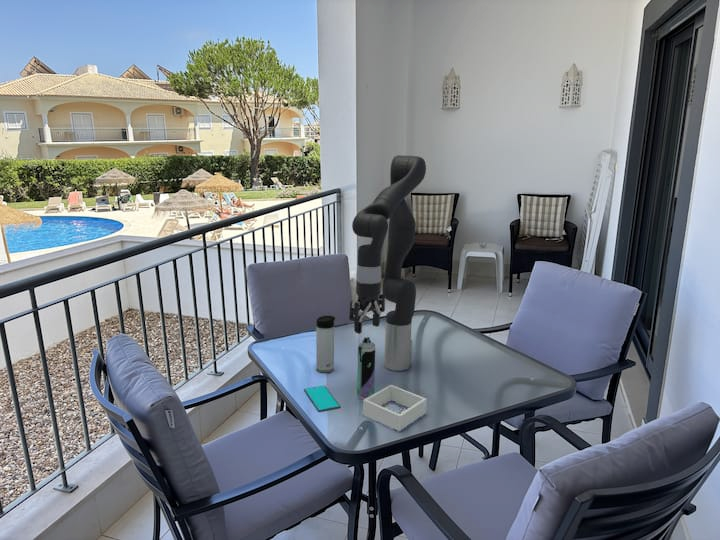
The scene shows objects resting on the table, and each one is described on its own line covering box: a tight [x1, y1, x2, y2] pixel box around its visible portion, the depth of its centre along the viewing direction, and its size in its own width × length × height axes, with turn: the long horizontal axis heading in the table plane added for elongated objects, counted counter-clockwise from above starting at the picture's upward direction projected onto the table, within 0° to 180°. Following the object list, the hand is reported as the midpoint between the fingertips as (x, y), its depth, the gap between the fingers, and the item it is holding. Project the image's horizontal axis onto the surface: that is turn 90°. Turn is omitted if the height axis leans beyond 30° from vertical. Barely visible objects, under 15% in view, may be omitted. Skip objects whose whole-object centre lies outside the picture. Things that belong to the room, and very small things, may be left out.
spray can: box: [356, 336, 376, 401], centre depth 161 cm, size 6×6×20 cm
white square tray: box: [362, 384, 428, 430], centre depth 152 cm, size 14×14×5 cm
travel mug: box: [315, 315, 336, 374], centre depth 179 cm, size 6×7×20 cm
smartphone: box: [303, 385, 341, 413], centre depth 161 cm, size 7×1×15 cm
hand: (367, 329), depth 158 cm, fingers open, 8 cm apart
